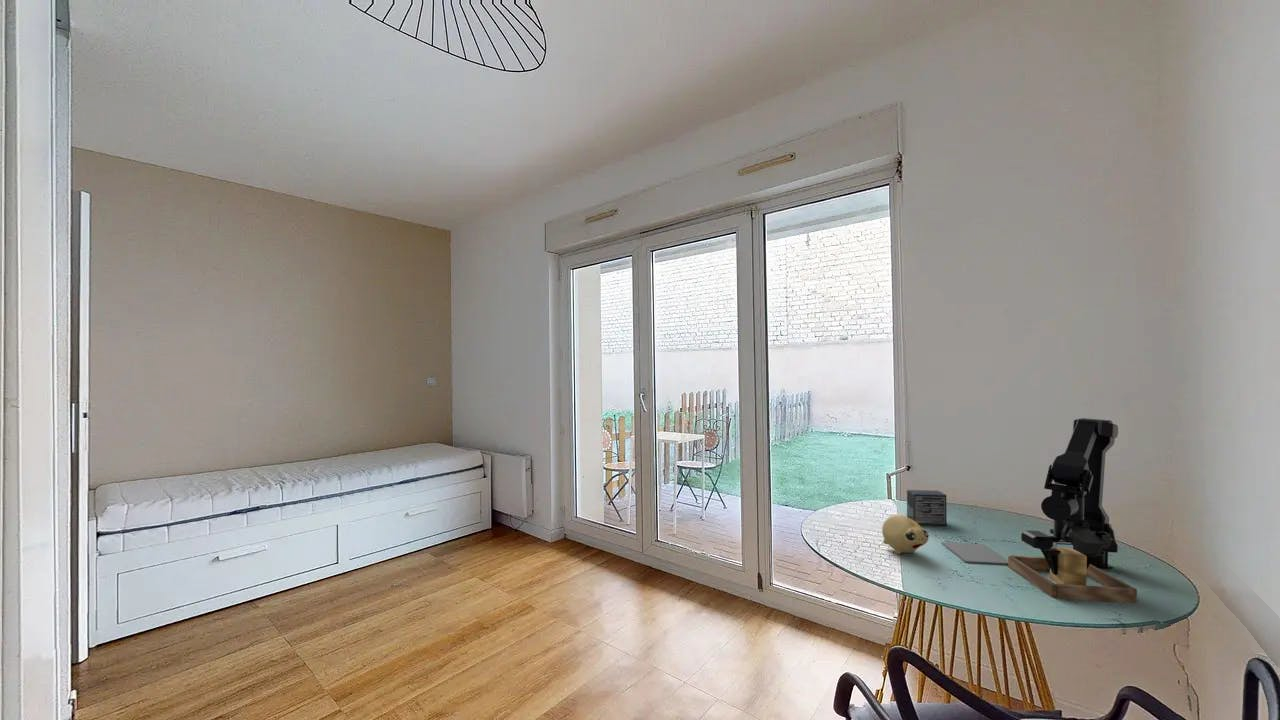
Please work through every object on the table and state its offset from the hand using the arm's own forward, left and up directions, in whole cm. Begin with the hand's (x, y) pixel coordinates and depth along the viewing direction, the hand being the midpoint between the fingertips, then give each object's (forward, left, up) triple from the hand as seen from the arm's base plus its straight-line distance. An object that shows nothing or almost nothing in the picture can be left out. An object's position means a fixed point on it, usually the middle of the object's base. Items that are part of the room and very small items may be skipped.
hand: (1067, 575), depth 127 cm
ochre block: (0, 0, -2) cm, 2 cm away
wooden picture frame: (0, 0, -2) cm, 2 cm away
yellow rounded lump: (+25, -34, -2) cm, 42 cm away
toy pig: (+33, -15, -2) cm, 36 cm away
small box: (+15, -44, -2) cm, 47 cm away
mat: (+13, -17, -2) cm, 21 cm away
